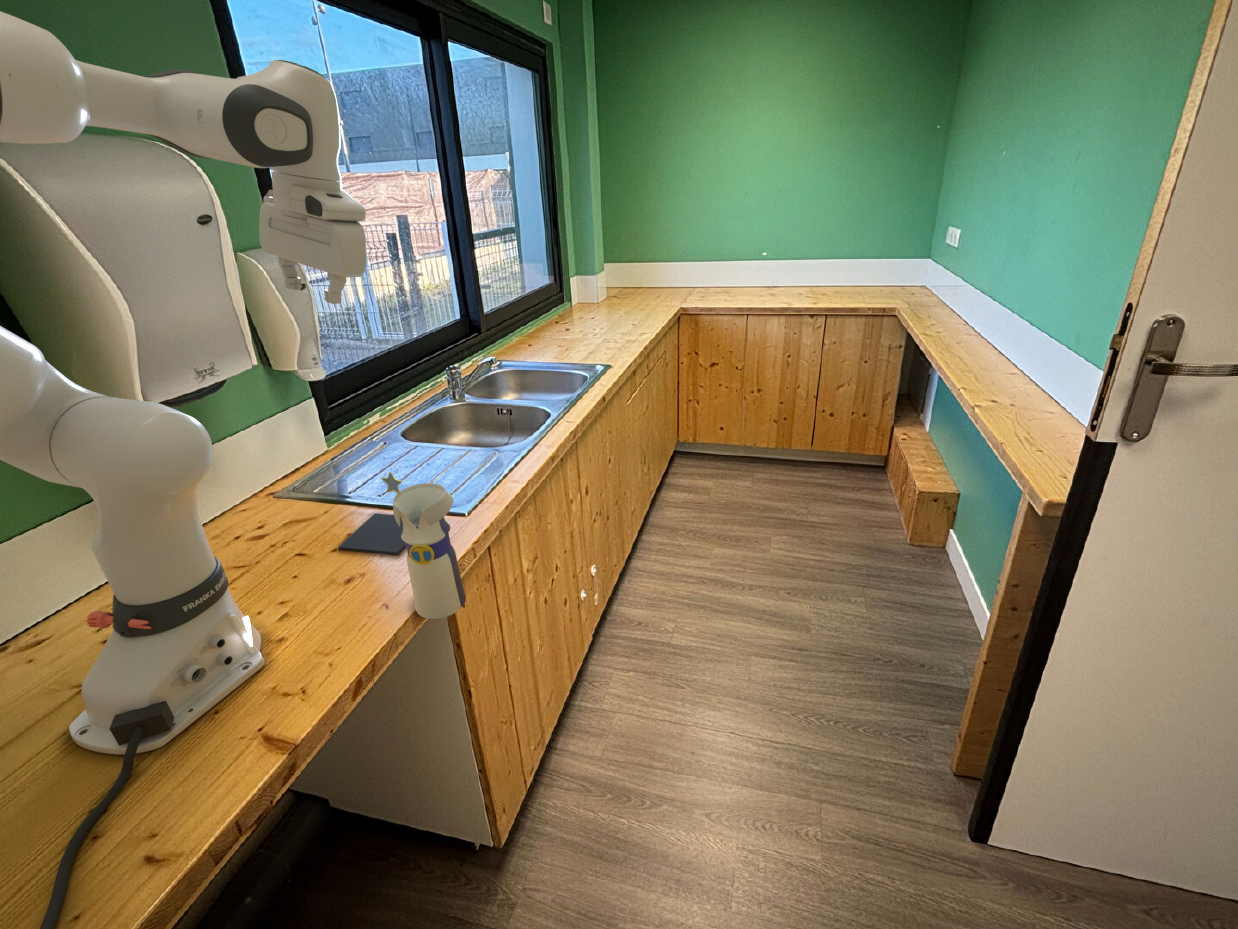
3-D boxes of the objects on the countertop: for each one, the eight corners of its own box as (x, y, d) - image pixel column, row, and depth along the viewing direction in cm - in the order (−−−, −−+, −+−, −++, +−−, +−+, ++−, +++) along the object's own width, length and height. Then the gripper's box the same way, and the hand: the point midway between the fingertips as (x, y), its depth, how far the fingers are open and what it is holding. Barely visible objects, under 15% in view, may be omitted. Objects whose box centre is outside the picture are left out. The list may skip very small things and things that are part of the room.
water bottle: (463, 619, 90) (435, 472, 79) (407, 621, 91) (370, 474, 80) (474, 585, 98) (450, 446, 87) (422, 587, 98) (391, 448, 87)
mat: (398, 555, 107) (397, 552, 106) (338, 549, 109) (337, 547, 109) (430, 520, 117) (430, 517, 117) (375, 515, 120) (374, 513, 119)
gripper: (243, 185, 88) (251, 281, 94) (334, 208, 79) (337, 312, 85) (284, 189, 93) (290, 280, 99) (374, 210, 85) (375, 309, 90)
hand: (313, 295), depth 92 cm, fingers open, 8 cm apart
